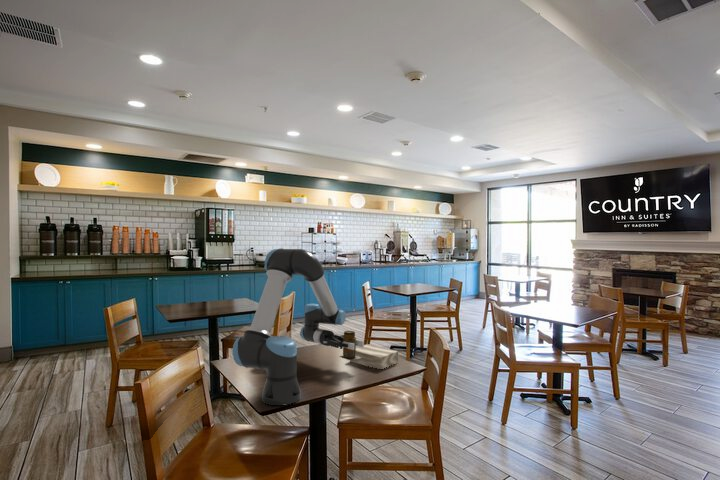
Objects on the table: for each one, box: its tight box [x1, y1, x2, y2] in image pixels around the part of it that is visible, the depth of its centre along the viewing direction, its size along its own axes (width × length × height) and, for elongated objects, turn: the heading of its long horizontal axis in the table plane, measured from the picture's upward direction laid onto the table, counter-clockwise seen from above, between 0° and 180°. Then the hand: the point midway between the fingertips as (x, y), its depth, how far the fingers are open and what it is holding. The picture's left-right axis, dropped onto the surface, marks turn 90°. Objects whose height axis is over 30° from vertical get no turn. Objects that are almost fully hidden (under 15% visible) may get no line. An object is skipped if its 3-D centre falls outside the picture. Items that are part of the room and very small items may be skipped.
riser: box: [349, 343, 399, 370], centre depth 196 cm, size 14×20×6 cm
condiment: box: [338, 330, 361, 361], centre depth 183 cm, size 7×8×12 cm
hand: (358, 345), depth 180 cm, fingers closed on condiment, 6 cm apart
